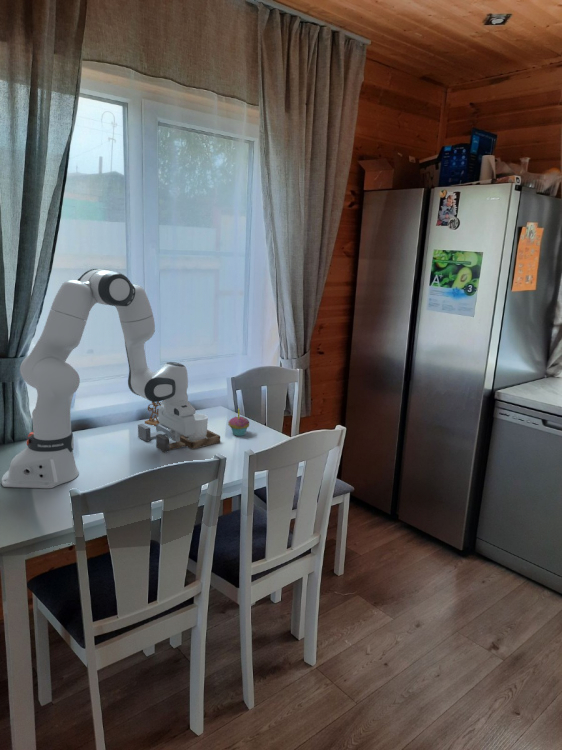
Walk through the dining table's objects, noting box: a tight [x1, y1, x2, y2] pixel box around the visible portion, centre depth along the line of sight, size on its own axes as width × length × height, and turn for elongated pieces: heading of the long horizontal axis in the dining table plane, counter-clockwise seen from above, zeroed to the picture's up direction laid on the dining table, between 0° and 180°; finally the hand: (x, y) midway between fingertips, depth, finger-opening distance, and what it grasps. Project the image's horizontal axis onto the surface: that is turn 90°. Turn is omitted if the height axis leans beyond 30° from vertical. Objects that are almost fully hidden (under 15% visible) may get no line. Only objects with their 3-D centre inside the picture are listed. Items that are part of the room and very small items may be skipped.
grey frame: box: [137, 423, 172, 442], centre depth 220 cm, size 22×12×5 cm, turn 132°
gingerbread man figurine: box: [144, 401, 162, 427], centre depth 230 cm, size 9×4×12 cm, turn 59°
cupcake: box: [227, 408, 250, 437], centre depth 222 cm, size 9×8×12 cm
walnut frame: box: [155, 429, 221, 453], centre depth 210 cm, size 22×12×5 cm, turn 132°
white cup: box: [187, 413, 209, 442], centre depth 212 cm, size 8×8×10 cm
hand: (175, 440), depth 207 cm, fingers closed
